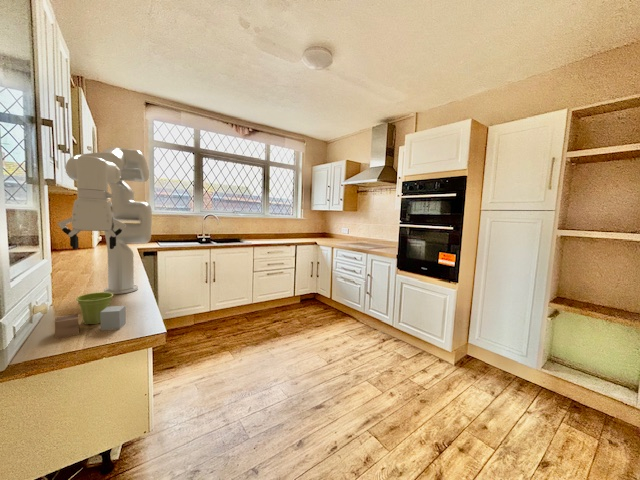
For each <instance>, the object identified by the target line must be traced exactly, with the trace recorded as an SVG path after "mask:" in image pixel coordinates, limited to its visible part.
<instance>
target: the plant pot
mask: <svg viewBox="0 0 640 480" xmlns="http://www.w3.org/2000/svg"><path fill="white" fill-rule="evenodd" d="M113 297H114V294H112V293H107V292H104V291H103V292H91V293H90V292H89V293H87V294H82V295H79V296H77V297H76V298H75V299H76V301H77V302H78V305H79V307H80V311H81V315H82V321H83V324H85V325H98V324H101V320H100V312H101V311H102V310H104V309H105V308H106V307H110V306H111V305H110V304H111V301H112V298H113Z"/></svg>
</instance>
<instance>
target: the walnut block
mask: <svg viewBox="0 0 640 480" xmlns="http://www.w3.org/2000/svg"><path fill="white" fill-rule="evenodd" d="M79 323H80V321H79V313H72V314H65V315H60V316H59V315H58V316H55V320H54V334H55V339H60V338H67V337H72V336H77V335H79V334H80V332H79V331H80V327H79Z"/></svg>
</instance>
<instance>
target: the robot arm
mask: <svg viewBox="0 0 640 480" xmlns="http://www.w3.org/2000/svg"><path fill="white" fill-rule="evenodd" d="M145 157H146V156H145V155H144V154H143V153H142V152H141V151H140V150H138V149H131V148H122V147H115V146H114V147H113V146H112V147H108V148H106V149H105V150H103V151H101V152H99V151H98V152H91V153H80V154H75V155H73V156H72V157H70V158H69V159H68V160H67V161H66V163H65V173H66V174H67V176H68V177H69V178H70V179H71V180H73V181H76V188H77V190H76V192H77V198H76V199H74V201H73V205H72V212H71V213H72V215H71V217H69V218H66V219H64V220H61V221H58V223H57V226H59V228H60V229H61V230H62V232H63V233H64V234H65V235H67V236H68V237H69V244H70V247H72V250H77V249H79V248H80V247H79V236H78V234H79V233H80V232H81V231H83V232H84V231H85V232H103V233H104V238H105V242H106V247H107V248H106V250H107V251H106V252H107V274H108V275H107V280H108V281H107V283H108V284H107V285H108V286H107V287H106V288H104V289H103V292H107V293H112V294H113V295H121V294H130V293H132V292H136V291H137V290H138V289H139V286H138V285H135V280H134V279H135V277H134V276H135V275H134V274H135V273H134V272H135V271H134V267H135V266H134V264H135V263H134V262H135V261H134V252H133V250H132V248H131V247H130V246H129V245H128V244H133V245H134V244H147V243H149V242H150V241H151V239H152V225H153V224H152V222H153V221H152V220H153V219H152V217H153V213H152V212H153V211H152V207H151V205H150V203H148V202H145V201H137V200H135V201H134V199H135V191H133V189H132V188H131V186H129V184H128V183H126V182H125V181H128V182H137V183H144V182H147V181H148V180H149V179H150V170H149V167H148V163H147V159H146V158H145ZM109 188H110V190H111V193H110V192H109V190H108V189H109ZM109 199H110V200H109ZM136 222H137V223H136ZM68 224H71V227H72V230H71V229H70V228H68V226H67V225H68Z"/></svg>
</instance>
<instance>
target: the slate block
mask: <svg viewBox="0 0 640 480" xmlns="http://www.w3.org/2000/svg"><path fill="white" fill-rule="evenodd" d="M126 310H127V309H126V305H117V306H116V305H115V306H113V305H110V306H109V307H106V308H105V309H104V310H102V311H101V312H100V320H101V323H100V331H110V330H111V331H113V330H121V329H122V327H124V326H125V324H126V323H127V319H126V318H127V317H126V316H127V314H126Z"/></svg>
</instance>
